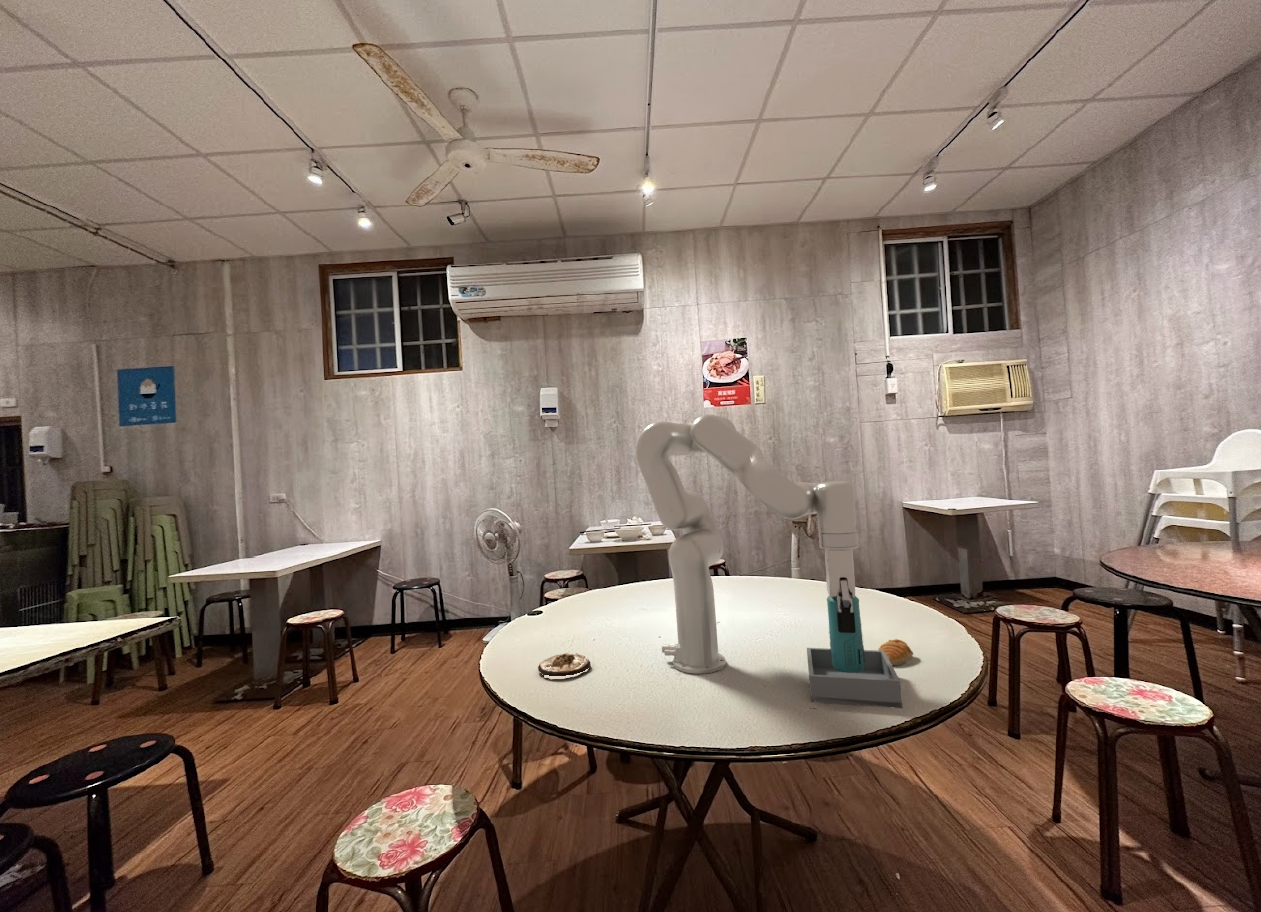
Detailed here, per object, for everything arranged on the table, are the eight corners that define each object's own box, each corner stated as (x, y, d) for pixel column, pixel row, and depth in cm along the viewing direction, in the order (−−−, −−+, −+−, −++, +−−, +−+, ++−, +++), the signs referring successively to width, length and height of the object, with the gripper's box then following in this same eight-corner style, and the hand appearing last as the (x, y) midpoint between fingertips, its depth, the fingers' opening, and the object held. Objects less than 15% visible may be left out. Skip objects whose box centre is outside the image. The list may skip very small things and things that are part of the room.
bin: (811, 701, 97) (809, 676, 97) (808, 669, 112) (806, 647, 112) (902, 708, 92) (900, 681, 92) (886, 674, 107) (884, 650, 107)
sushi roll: (549, 690, 111) (547, 671, 112) (525, 671, 124) (524, 654, 124) (605, 673, 119) (604, 655, 120) (578, 656, 132) (577, 640, 132)
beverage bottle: (864, 683, 98) (856, 581, 99) (828, 677, 101) (821, 579, 102) (868, 671, 103) (860, 574, 104) (834, 666, 107) (827, 573, 108)
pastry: (902, 670, 109) (901, 652, 109) (870, 664, 114) (869, 647, 114) (914, 657, 116) (913, 640, 116) (884, 651, 121) (882, 636, 121)
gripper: (816, 535, 113) (822, 614, 112) (821, 547, 96) (828, 639, 96) (852, 534, 111) (858, 615, 110) (863, 546, 94) (871, 641, 93)
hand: (844, 625), depth 103 cm, fingers open, 6 cm apart
